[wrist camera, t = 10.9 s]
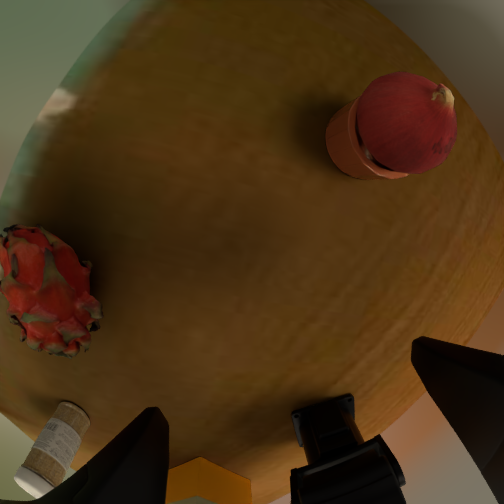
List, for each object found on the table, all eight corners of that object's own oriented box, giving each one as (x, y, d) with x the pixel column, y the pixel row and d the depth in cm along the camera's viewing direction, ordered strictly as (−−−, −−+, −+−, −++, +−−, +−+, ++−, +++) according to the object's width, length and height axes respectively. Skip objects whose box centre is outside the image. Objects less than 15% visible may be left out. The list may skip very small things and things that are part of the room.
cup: (397, 173, 20) (431, 172, 15) (335, 185, 20) (360, 185, 15) (380, 105, 18) (410, 90, 14) (316, 110, 18) (336, 92, 14)
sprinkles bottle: (67, 421, 24) (28, 495, 11) (54, 396, 23) (4, 471, 10) (96, 429, 24) (61, 512, 11) (84, 404, 23) (38, 490, 10)
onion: (415, 124, 16) (488, 87, 8) (404, 194, 16) (491, 181, 8) (346, 88, 16) (403, 24, 8) (328, 161, 16) (396, 115, 8)
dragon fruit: (116, 330, 23) (51, 227, 22) (143, 307, 17) (59, 172, 16) (50, 383, 16) (-16, 266, 16) (46, 384, 11) (-35, 217, 10)
